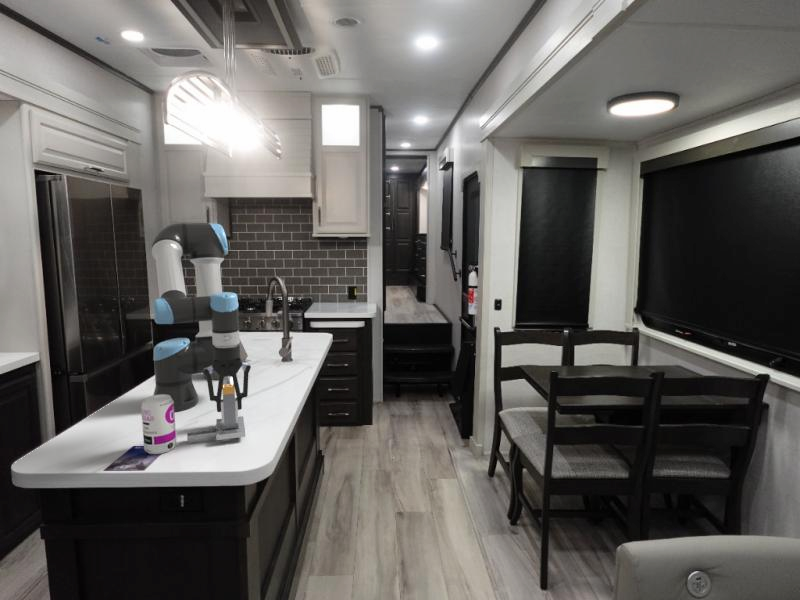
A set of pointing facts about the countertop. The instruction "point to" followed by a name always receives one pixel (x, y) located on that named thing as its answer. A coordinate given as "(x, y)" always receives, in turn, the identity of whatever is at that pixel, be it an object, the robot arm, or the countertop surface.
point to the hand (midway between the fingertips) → (230, 420)
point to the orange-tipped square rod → (229, 406)
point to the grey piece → (219, 427)
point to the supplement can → (158, 424)
